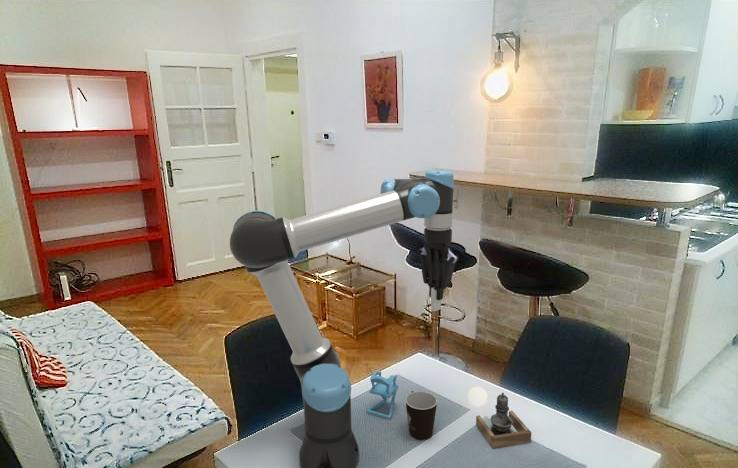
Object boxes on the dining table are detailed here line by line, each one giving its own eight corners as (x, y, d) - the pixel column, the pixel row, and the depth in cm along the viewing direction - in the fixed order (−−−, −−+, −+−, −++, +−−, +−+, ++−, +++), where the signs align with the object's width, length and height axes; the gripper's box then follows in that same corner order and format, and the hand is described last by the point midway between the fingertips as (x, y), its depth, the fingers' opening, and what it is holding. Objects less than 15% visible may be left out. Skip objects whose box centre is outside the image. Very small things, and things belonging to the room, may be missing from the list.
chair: (401, 405, 137) (401, 369, 135) (389, 420, 130) (389, 382, 128) (378, 399, 141) (378, 363, 138) (366, 413, 134) (365, 376, 131)
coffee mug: (435, 444, 119) (436, 411, 117) (403, 440, 121) (403, 407, 119) (438, 418, 131) (438, 387, 128) (408, 415, 132) (408, 384, 130)
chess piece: (488, 424, 127) (490, 385, 125) (510, 425, 127) (512, 387, 124) (491, 437, 122) (493, 397, 119) (513, 439, 121) (516, 399, 118)
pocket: (475, 425, 127) (476, 415, 126) (511, 419, 129) (512, 410, 129) (492, 448, 118) (492, 438, 117) (530, 442, 120) (531, 432, 119)
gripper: (466, 229, 120) (462, 312, 125) (428, 222, 130) (426, 300, 135) (448, 233, 115) (445, 319, 120) (411, 226, 125) (409, 306, 130)
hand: (435, 309), depth 128 cm, fingers closed
